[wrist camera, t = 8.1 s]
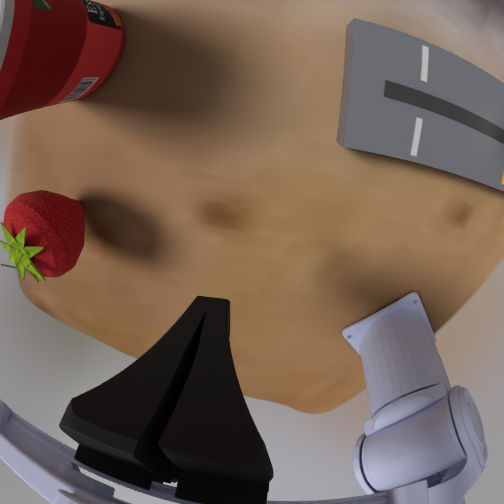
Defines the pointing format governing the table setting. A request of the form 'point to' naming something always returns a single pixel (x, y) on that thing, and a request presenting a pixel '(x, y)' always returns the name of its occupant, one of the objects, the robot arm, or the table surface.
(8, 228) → the strawberry
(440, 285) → the table surface
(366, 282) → the table surface
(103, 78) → the canned food
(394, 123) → the fader board
